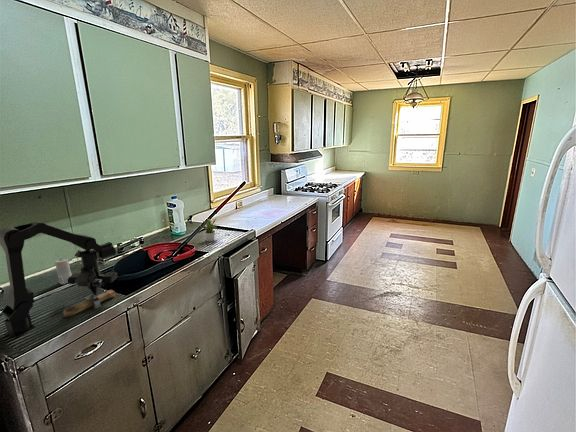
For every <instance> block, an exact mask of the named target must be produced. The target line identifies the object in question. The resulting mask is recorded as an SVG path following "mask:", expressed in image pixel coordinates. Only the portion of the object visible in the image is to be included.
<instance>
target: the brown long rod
mask: <svg viewBox="0 0 576 432" xmlns="http://www.w3.org/2000/svg"><path fill="white" fill-rule="evenodd" d="M115 296H116V291H115V290H113V289H109V290H106V291H104V292H102V293H100V294H97V295H95V297H97V298H99V299H100V303H102V302H104V301H106V300H109V299H111V298H113V297H115ZM91 307H93V303H92V302H91V301H90V300H88V299H86V300H84V301H82V302H81V303H78V304H77V303H76V304H75V305H73V306H68V307H66V308H65V309H64V310H63V311H62V314H63V317H64V318H70V317H73V316H74V315H76V314H78V313H81V312H82V311H85V310H87V309H88V308H91Z"/></svg>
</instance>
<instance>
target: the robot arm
mask: <svg viewBox="0 0 576 432" xmlns="http://www.w3.org/2000/svg"><path fill="white" fill-rule="evenodd" d="M39 234H43V235H47V236H50V237H53V238H56V239H60V240H62V241H65V242H69V243H71V244H72V245H74V246H76V247H77V248H80V249H83V250H82V251H81V250H79V249H78V250H77V251H76V253H75V254H74V257H76V258H78V259H79V258H80V259H81V260H80V261H81V265H82V267H81V268H80V272H74V273H73V274H71V276H70V277H69V278H68V280H67V281H68V284H67V285H75V284H76V286H77V287H79V288H80V287H88V289H89V290H90V291H91V293H92V295H93V296H98V295H99V292H100V288H101V285H102V283H103V284H111V283H113V282H114V281H115V280H116V279H117V278H118V273H117V272H114V271H110V272H106V273H105V274H102V270H100V265H101V263H100V262H99V261H98V259H100V260H101V261H102V260H106V259H109V258H112V257H115V256H117V255H116V254H117V251H116V248H115V246H114V245H113V242H110V241H107V242H105V243H103V244H99V243H97V241H96V238H94V237H92V236H89V235H87V234H80V233H74V232H70V231H66V230H64V229H61V228H59V227H55V226H52V225H49V224H46V223H45V222H42V221H39V220H35V221H32V222H28V223H25V224H19V225H16V226H13V227H11V226H7V227H3V228H2V229H0V245H1V246H0V247H2V250H3V251H4V253H5V259H6V260H5V261H6V267H7V274H8V280H9V281H8V282H9V292H8V294H7V301H6V302H7V304H6V305H5V307H4V308H3V309H2V311H1V312H0V313H1V315H3V316H4V317H5V318H6V319H5V320H3V321H4V326H5V329H6V332H5V333H4V335H5V336H8V337H9V336H10V337H16V338H19V337H21V336H22V335H24V334H25V333H27V332H29V331H31V330H32V329H33V328H35V327H36V325H34V324H33V321H32V317H31V315H30V310H32V308H33V306H34V303H36V301H35V299H34V296H35V295H34V293H35V292H34V291H32V290H31V289H29V288H28V287H27V285H26V277H25V271H24V269H25V268H24V263H23V261H24V260H23V253H22V251H23V248H24V246H25V240H26V241H27V240H29V239H31V238H33V237H35V236H36V235H37V236H38V235H39Z"/></svg>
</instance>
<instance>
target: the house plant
mask: <svg viewBox="0 0 576 432" xmlns="http://www.w3.org/2000/svg"><path fill="white" fill-rule="evenodd" d="M217 219H218V217H216V218H214V219H213V220H212V219H210V218H209V219H208V218H207V220H206V219H204V220H202V219H200V221H201V222H203V223H205V222H206V223H205V225H203V227H201V225H202V224H199V226H200V227H201V229H204V230H205V231H204V237H205V239H206V241H207V242H213V241H215V237H216V236H215V235H216V231H215V230H214V229H215V228H217V225H215V224H216V221H217ZM217 229H218V228H217Z"/></svg>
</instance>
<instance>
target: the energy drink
mask: <svg viewBox="0 0 576 432" xmlns="http://www.w3.org/2000/svg"><path fill="white" fill-rule="evenodd" d="M54 262H55V263H54V265H55V270H56V273H57V274H56V275H57V278H58V282H59V284H60V285H67V284H66V283H68V281H67V280H68V278H69V277H70V276H71V275H72V271H71V267H70V266H71V265H70V261H69V259H68V258H66V257H65V258H58V259H56V260H55V261H54Z"/></svg>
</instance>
